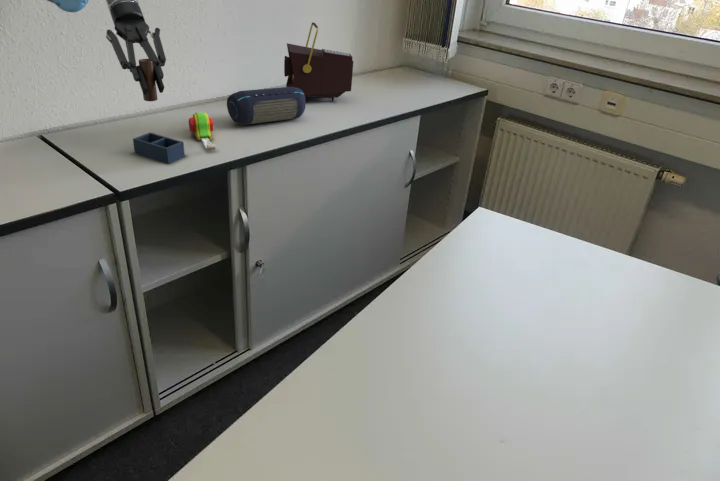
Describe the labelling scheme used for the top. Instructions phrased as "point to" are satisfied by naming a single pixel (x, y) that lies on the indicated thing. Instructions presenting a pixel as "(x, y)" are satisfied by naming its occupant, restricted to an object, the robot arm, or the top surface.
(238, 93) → the portable speaker
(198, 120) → the toy measuring tape
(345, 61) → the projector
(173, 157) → the divided box
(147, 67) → the brown cylinder
